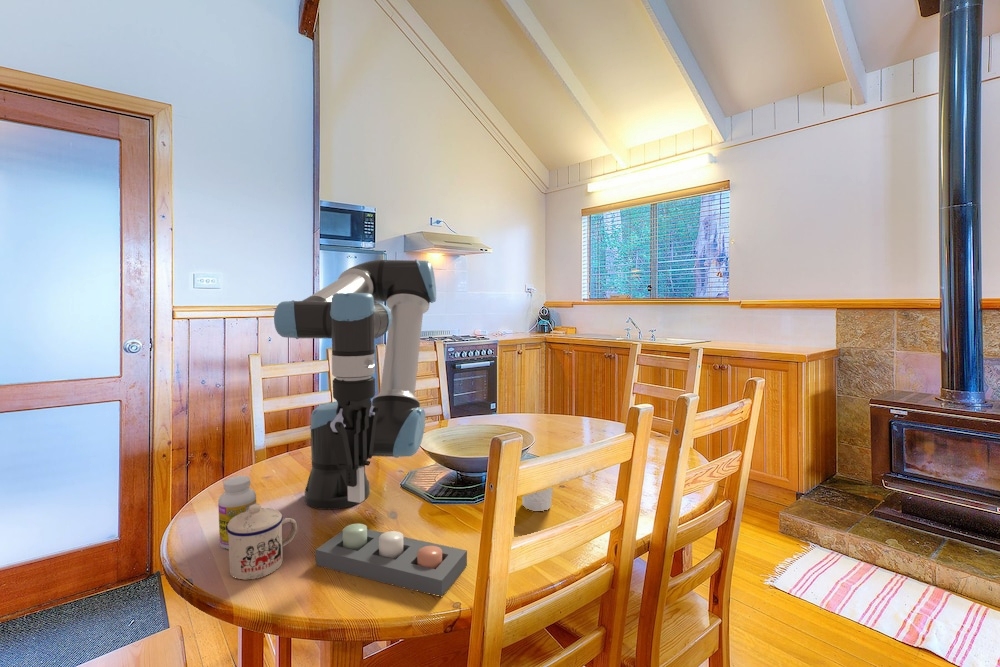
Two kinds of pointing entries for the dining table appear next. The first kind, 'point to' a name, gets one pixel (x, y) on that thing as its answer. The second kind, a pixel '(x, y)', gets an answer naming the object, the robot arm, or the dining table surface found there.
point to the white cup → (538, 500)
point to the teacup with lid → (257, 542)
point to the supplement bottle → (233, 503)
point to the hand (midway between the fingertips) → (356, 500)
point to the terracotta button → (429, 556)
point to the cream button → (391, 544)
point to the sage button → (355, 536)
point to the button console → (394, 563)
